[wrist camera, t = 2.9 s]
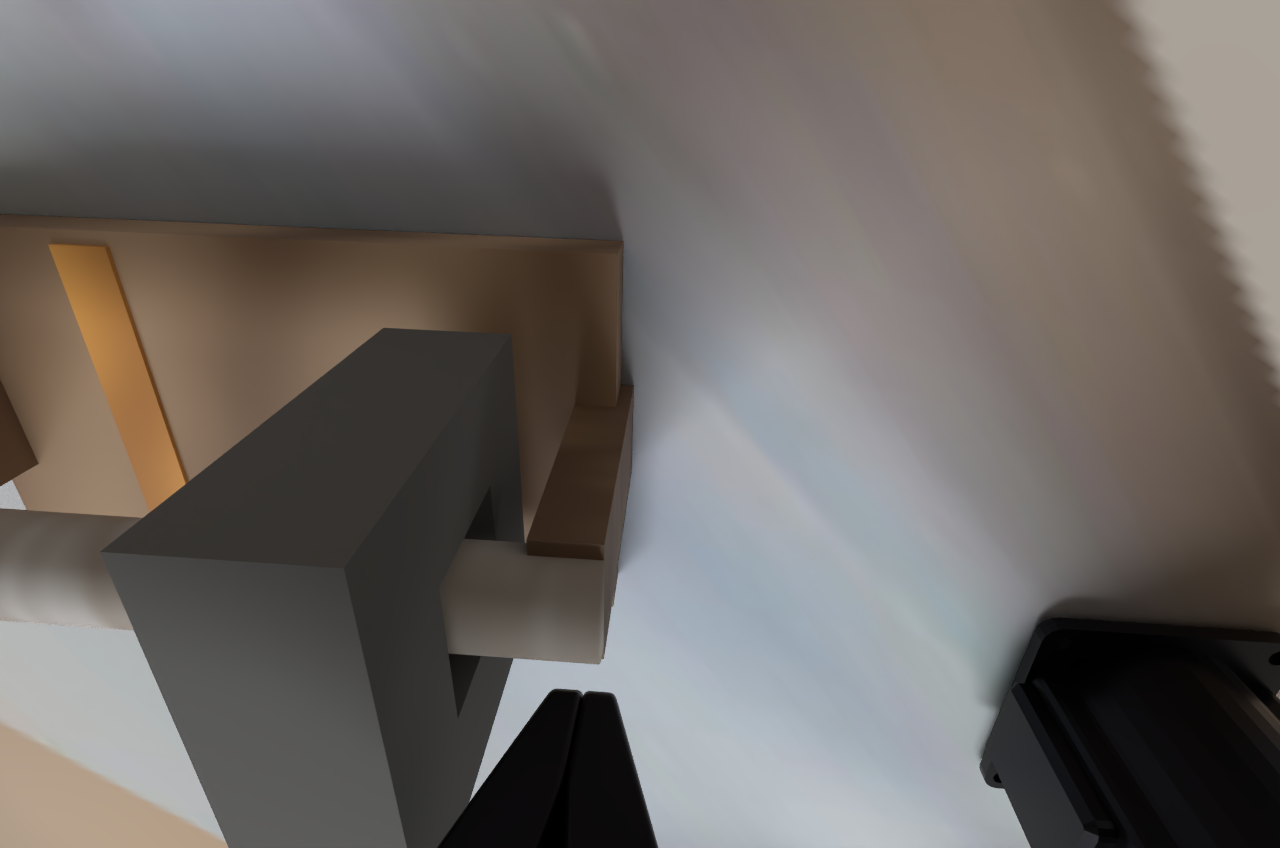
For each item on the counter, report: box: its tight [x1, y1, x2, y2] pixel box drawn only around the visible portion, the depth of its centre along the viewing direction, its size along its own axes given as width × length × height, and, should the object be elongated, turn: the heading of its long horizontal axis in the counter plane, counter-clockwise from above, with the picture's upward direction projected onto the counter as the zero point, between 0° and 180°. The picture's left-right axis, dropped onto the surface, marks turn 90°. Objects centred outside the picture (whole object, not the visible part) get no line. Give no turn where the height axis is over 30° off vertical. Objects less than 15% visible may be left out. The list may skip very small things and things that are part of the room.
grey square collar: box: [100, 328, 525, 848], centre depth 11 cm, size 2×7×7 cm, turn 179°
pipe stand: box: [0, 214, 634, 664], centre depth 13 cm, size 16×9×7 cm, turn 88°
